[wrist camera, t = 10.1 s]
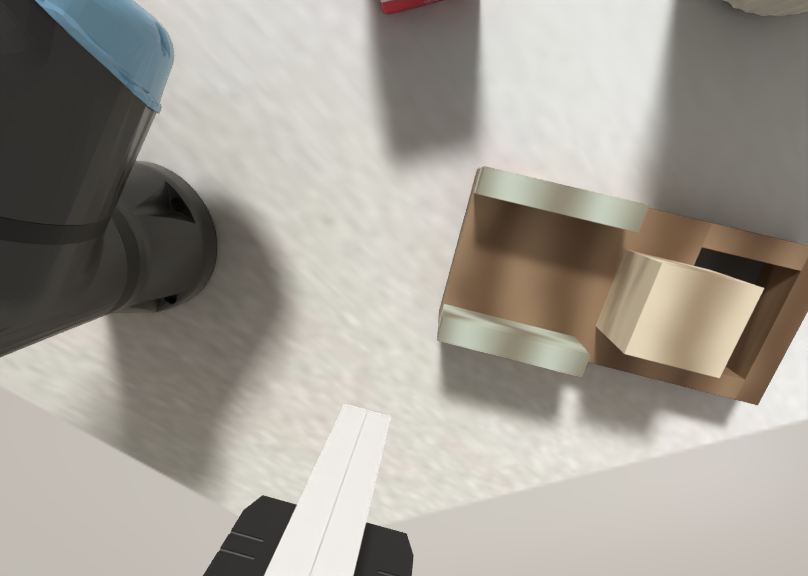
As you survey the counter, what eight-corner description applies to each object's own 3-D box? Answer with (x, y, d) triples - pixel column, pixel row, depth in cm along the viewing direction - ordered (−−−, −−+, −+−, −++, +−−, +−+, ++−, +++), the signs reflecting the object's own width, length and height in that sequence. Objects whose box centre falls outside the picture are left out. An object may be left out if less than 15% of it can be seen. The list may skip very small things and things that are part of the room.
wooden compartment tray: (439, 310, 41) (437, 340, 33) (477, 169, 37) (484, 166, 30) (727, 383, 40) (794, 432, 32) (797, 245, 36) (891, 262, 28)
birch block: (595, 325, 36) (624, 353, 30) (625, 249, 34) (662, 262, 28) (675, 346, 35) (719, 378, 30) (709, 269, 34) (764, 288, 28)
